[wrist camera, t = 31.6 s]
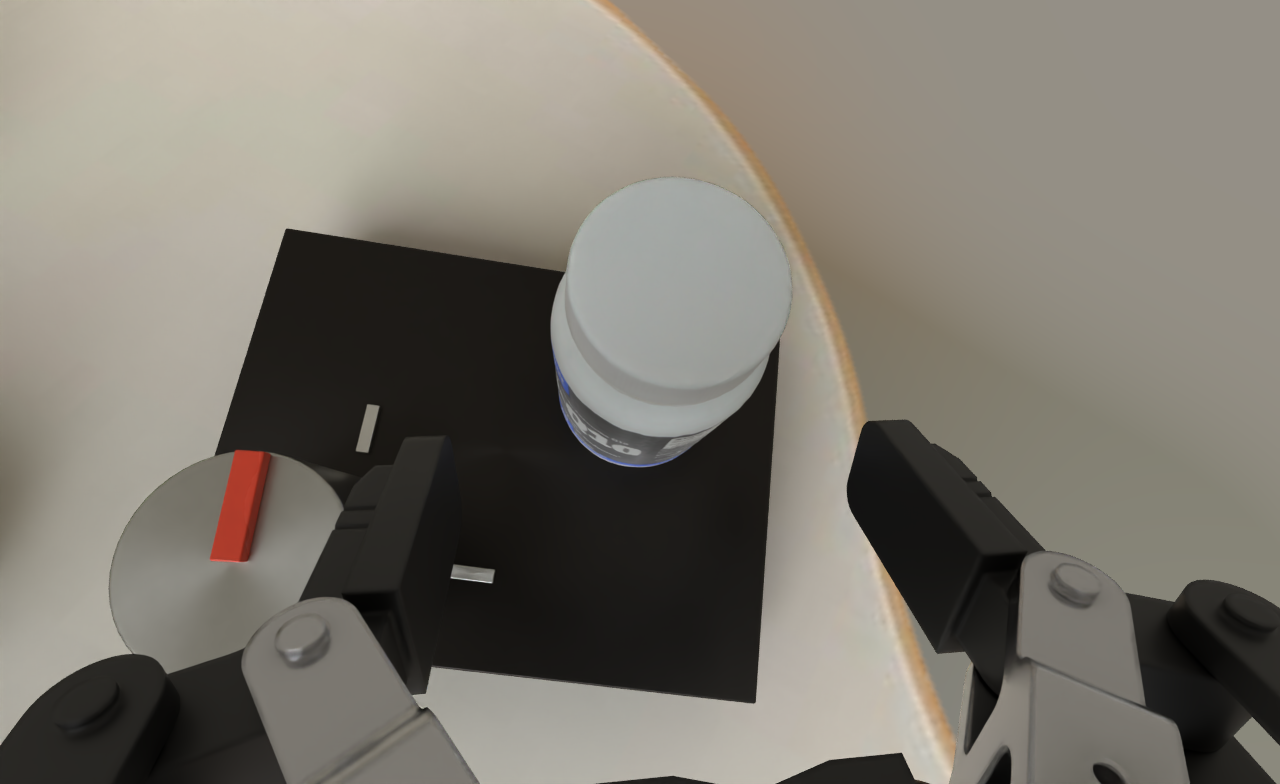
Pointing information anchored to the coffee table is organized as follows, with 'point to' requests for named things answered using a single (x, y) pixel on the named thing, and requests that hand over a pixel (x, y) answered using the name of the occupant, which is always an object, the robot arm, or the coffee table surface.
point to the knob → (221, 553)
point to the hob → (517, 469)
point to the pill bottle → (665, 317)
